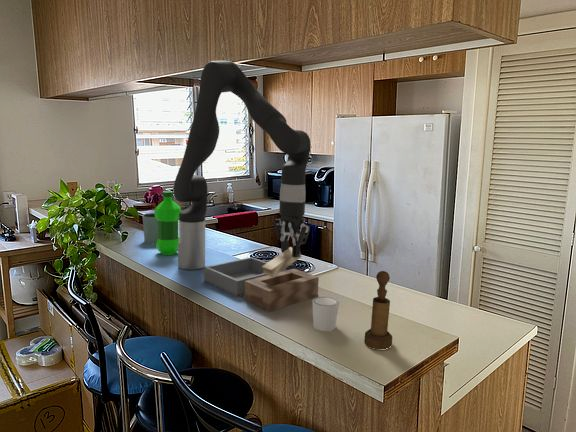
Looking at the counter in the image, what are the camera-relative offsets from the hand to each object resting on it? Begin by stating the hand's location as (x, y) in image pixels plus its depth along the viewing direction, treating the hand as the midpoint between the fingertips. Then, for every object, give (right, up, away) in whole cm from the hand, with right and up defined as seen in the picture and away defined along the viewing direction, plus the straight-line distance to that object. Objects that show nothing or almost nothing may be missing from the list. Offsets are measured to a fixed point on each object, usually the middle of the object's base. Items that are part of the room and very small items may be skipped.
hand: (290, 255), depth 133 cm
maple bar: (-2, -3, -1) cm, 4 cm away
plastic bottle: (-49, -3, +45) cm, 67 cm away
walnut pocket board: (-2, -13, 0) cm, 13 cm away
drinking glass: (-60, 0, +64) cm, 88 cm away
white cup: (+9, -17, -19) cm, 27 cm away
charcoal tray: (-15, -10, +13) cm, 22 cm away
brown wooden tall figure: (+21, -19, -27) cm, 39 cm away
